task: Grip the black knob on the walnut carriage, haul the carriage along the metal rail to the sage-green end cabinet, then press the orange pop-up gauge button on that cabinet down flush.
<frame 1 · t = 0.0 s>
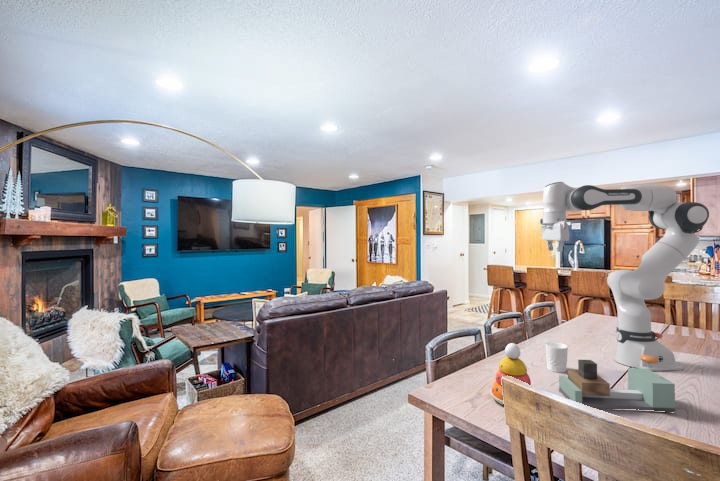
hand: (555, 251, 147), 48 cm above the table, tool pointing down, fingers open, 8 cm apart
rail base: (612, 401, 111), on the table
white cup: (556, 369, 137), on the table
stacking toy: (512, 401, 113), on the table
gauge button: (649, 362, 109), point 13 cm above the table, slide at 2.5 cm
carriage: (587, 375, 112), point 8 cm above the table, slide at 0.0 cm
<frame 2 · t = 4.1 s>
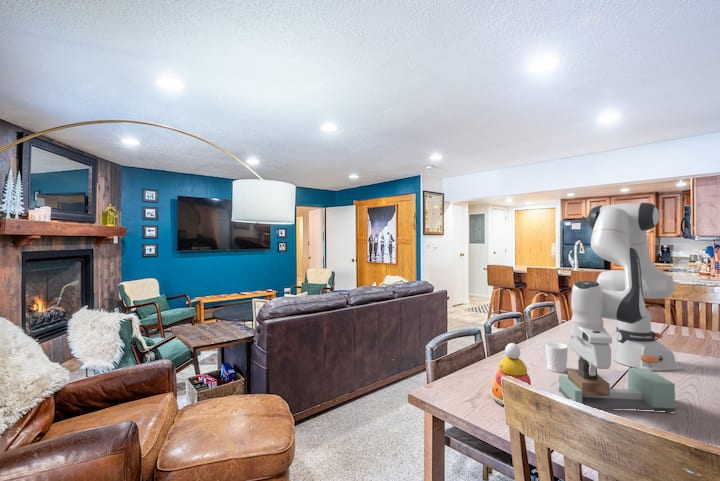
hand: (587, 371, 112), 9 cm above the table, tool pointing down, fingers closed on carriage, 4 cm apart
carriage: (587, 375, 112), point 8 cm above the table, slide at 0.0 cm, touching gripper
everything else where it was.
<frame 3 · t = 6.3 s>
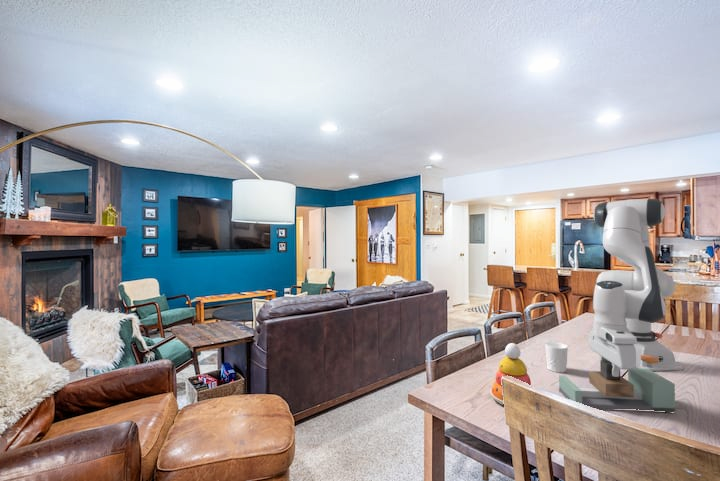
hand: (610, 372, 111), 9 cm above the table, tool pointing down, fingers closed on carriage, 4 cm apart
carriage: (610, 376, 111), point 8 cm above the table, slide at 6.8 cm, touching gripper
everything else where it was.
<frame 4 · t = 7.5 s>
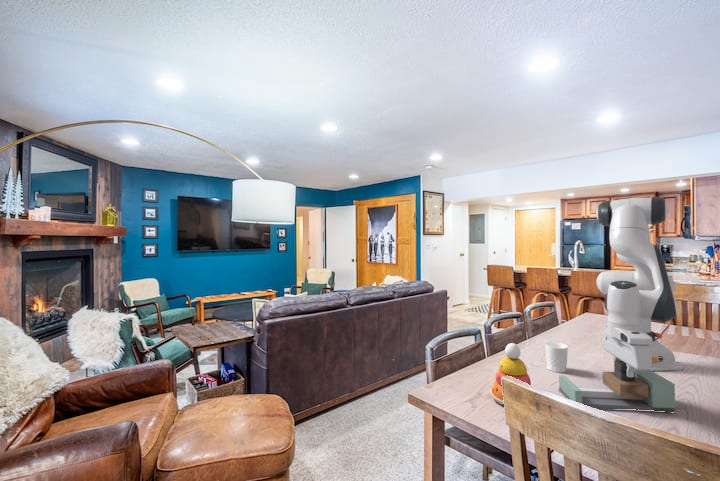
hand: (624, 373, 110), 9 cm above the table, tool pointing down, fingers closed on carriage, 4 cm apart
carriage: (624, 376, 110), point 8 cm above the table, slide at 11.0 cm, touching gripper
everything else where it was.
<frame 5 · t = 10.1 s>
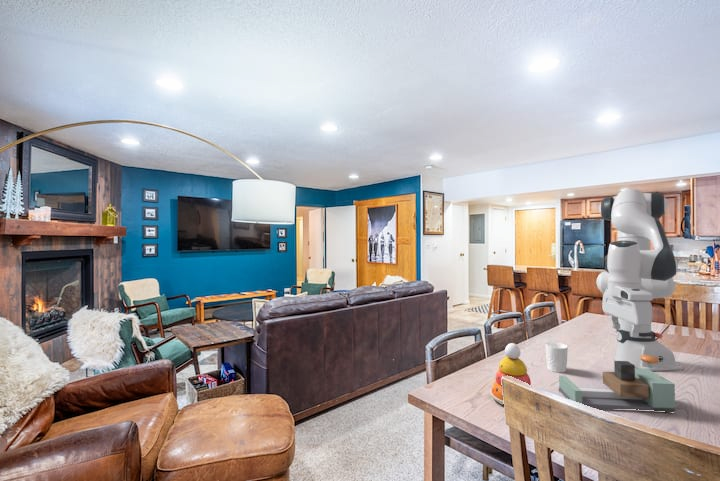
hand: (624, 332, 110), 23 cm above the table, tool pointing down, fingers open, 8 cm apart
carriage: (624, 376, 110), point 8 cm above the table, slide at 11.1 cm
everything else where it was.
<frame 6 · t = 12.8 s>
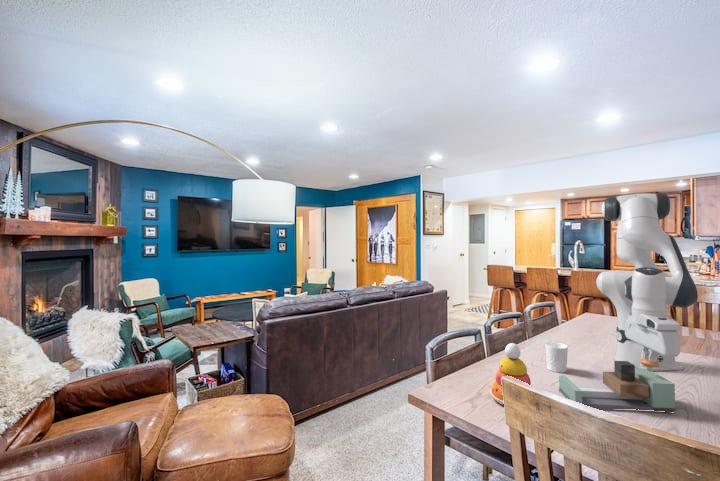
hand: (649, 360, 109), 14 cm above the table, tool pointing down, fingers closed, pressing on gauge button
gauge button: (649, 365, 109), point 12 cm above the table, slide at 1.3 cm, touching gripper
everything else where it was.
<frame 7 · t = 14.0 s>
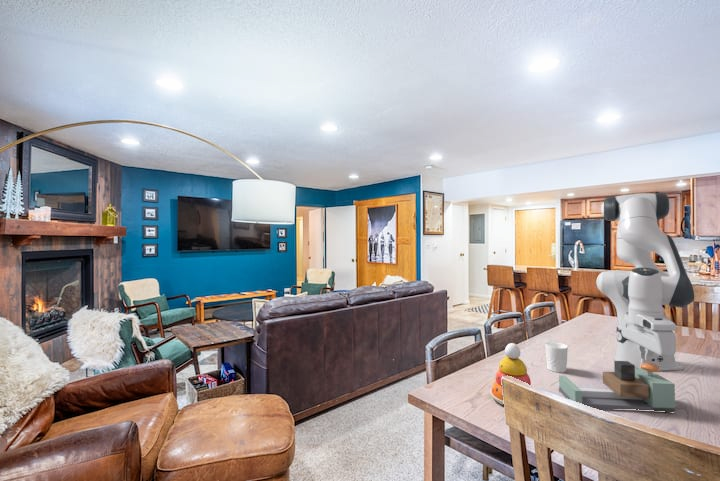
hand: (645, 359, 110), 14 cm above the table, tool pointing down, fingers closed
gauge button: (649, 370, 109), point 11 cm above the table, slide at -0.2 cm
everything else where it was.
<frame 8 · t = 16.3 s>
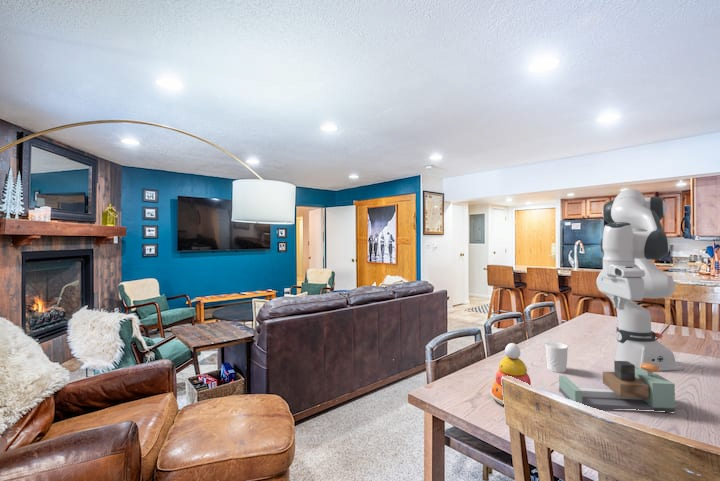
hand: (619, 308, 116), 29 cm above the table, tool pointing down, fingers closed
nothing on the table moved.
at the end: carriage slide at 11.1 cm; gauge button slide at -0.2 cm; the gripper is holding nothing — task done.
